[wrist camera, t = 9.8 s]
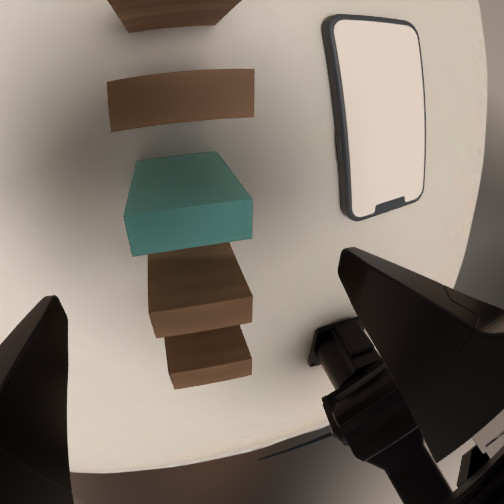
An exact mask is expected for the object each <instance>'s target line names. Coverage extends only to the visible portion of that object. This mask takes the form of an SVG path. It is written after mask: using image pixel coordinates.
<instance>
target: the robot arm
mask: <svg viewBox="0 0 504 504" xmlns="http://www.w3.org/2000/svg"><path fill="white" fill-rule="evenodd" d="M338 275H339V278H340V280H341V282H342V284H343V286H344V289H345V291H346V293H347V295H348V297H349V299H350V301H351V304H352V306H353V308H354V310H355V312H356V314H357V316H358V318H355V319H351V320H348V321H345V322H341V323H338V324H334V325H331V326H327V327H323V328H320V329H318V330H317V331H316V332H315V336H314V340H313V345H312V349H311V353H310V357H309V361H308V364H309V366H310V367H313V366H316V365H320V364H321V365H322V367H323V368H324V370H325V372H326V374H327V376H328V377H329V379H330V381H331V383H332V385H333V386H334V388H335V391H333V392H332V393H330V394H329V395H327V396H324V397H323V398H322V401H323V407H324V410H325V412H326V415H327V418H328V420H329V423H330V427H331V432H332V435H333V437H334V438H337V439H339V440H340V441H341V442H342V443H343V444H344V445H345V446H350V448H351V450H352V452H353V454H354V455H355V457H357V458H358V459H360V460H362V461H364V462H365V461H367V462H368V463H371V464H373V465H375V466H377V467H379V468H381V469H383V470H385V472H386V473H387V475H388V477H389V479H390V480H391V482H392V484H393V486H394V488H395V489H396V491H397V493H398V495H399V496H400V498H401V500H402V502H403V503H404V504H504V310H503V309H501V308H498V307H496V306H493V305H491V304H488V303H485V302H483V301H480V300H478V299H475V298H473V297H470V296H468V295H465V294H463V293H461V292H459V291H456V290H454V289H452V288H449V287H447V286H445V285H444V286H443V285H442V284H440V283H438V282H436V281H434V280H431V279H429V278H427V277H425V276H422V275H420V274H418V273H415V272H413V271H411V270H408V269H406V268H404V267H401V266H399V265H397V264H394V263H392V262H389V261H387V260H385V259H382V258H380V257H377V256H375V255H373V254H370V253H368V252H365V251H363V250H360V249H358V248H355V247H350V248H345V249H343V250H342V252H341V256H340V261H339V266H338ZM364 328H365V329H366V331H367V333H368V335H369V336H370V338H371V340H372V342H373V343H374V345H375V347H376V349H377V350H378V352H379V354H380V355H379V354H378V352H377V351H376V349H375V348H374V345H373V343H372V342H371V340H370V339H369V338H368V336H367V335H366V334H365V332H364V331H363V330H364ZM381 357H382V358H381ZM67 384H68V319H67V315H66V313H65V311H64V309H63V307H62V305H61V303H60V301H59V299H58V297H57V296H55V295H52V296H46V297H44V298H43V299H42V300H41V301H40V302H39V303H38V304H37V305H36V306H35V307H34V308H33V309H32V310H31V311H30V312H29V313H28V314H27V315H26V317H25V318H24V319H23V320H22V321H21V322H20V323H19V324H18V325H17V326H16V328H15V329H14V330H13V331H12V332H11V333H10V334H9V335H8V337H7V338H6V339H5V340H4V341H3V342H2V344H1V345H0V504H74V502H73V495H72V493H71V492H72V489H71V480H70V471H69V459H68V442H67ZM471 437H472V438H473V440H474V441H475V443H476V445H475V446H474V447H472V448H471V449H470V450H469V451H468V452H466V453H465V454H464V455H463V456H462V460H461V466H460V472H459V476H458V481H457V487H458V489H456V490H455V491H454V492H453V491H452V489H451V487H450V486H449V484H448V482H447V480H446V479H445V477H444V475H443V474H442V472H441V470H440V469H439V467H438V465H437V464H436V463H437V462H439V461H440V460H442V459H443V458H445V457H446V456H447V455H449V454H450V453H452V452H453V451H454V450H456V449H457V448H459V447H460V446H461V445H463V444H464V443H465V442H466V441H468V440H469V439H470V438H471ZM425 442H426V444H427V446H428V448H429V450H430V452H431V454H432V456H433V457H432V456H431V454H430V452H429V451H428V450H427V448H426V446H425ZM434 460H435V461H434Z"/></svg>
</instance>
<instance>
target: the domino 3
mask: <svg viewBox="0 0 504 504" xmlns="http://www.w3.org/2000/svg"><path fill="white" fill-rule="evenodd" d="M124 221H125V226H126V230H127V235H128V239H129V244H130V248H131V252H132V257H133V256H139V255H146V254H152V253H159V252H165V251H172V250H178V249H185V248H192V247H198V246H205V245H212V244H219V243H225V242H232V241H239V240H246V239H252V198H251V196H250V195H249V194H248V192H247V191H246V190H245V188H244V187H243V186H242V184H241V183H240V182H239V180H238V179H237V178H236V176H235V175H234V174H233V172H232V171H231V170H230V168H229V167H228V166H227V164H226V163H225V162H224V161H223V159H222V158H221V157H220V155H219V154H218V153H217V151H216V152H206V153H196V154H187V155H179V156H171V157H163V158H156V159H149V160H143V161H137V163H136V167H135V171H134V175H133V179H132V182H131V187H130V191H129V195H128V199H127V203H126V208H125V212H124Z"/></svg>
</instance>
